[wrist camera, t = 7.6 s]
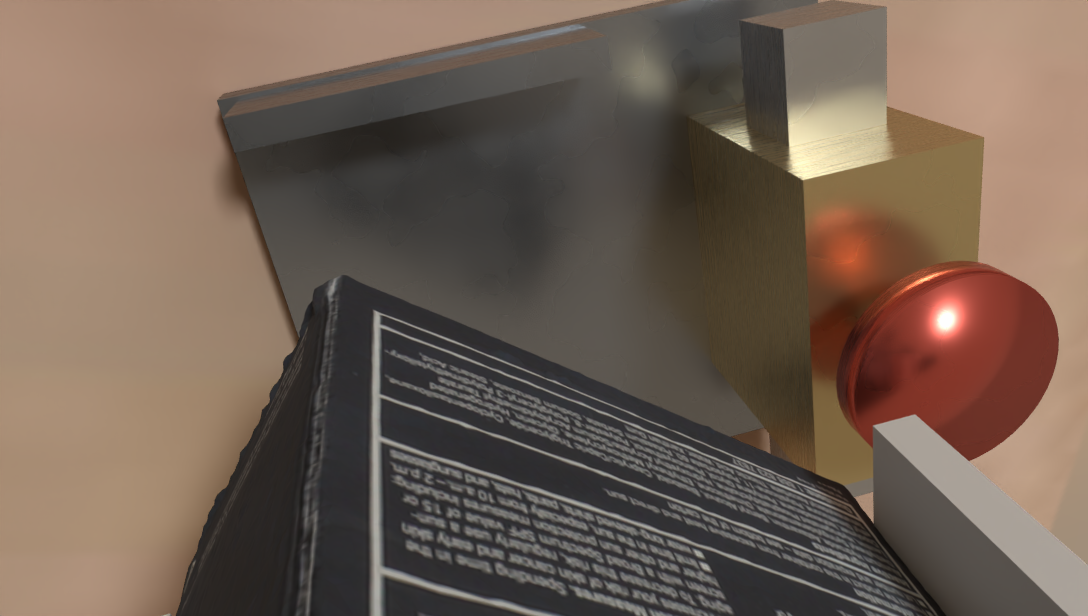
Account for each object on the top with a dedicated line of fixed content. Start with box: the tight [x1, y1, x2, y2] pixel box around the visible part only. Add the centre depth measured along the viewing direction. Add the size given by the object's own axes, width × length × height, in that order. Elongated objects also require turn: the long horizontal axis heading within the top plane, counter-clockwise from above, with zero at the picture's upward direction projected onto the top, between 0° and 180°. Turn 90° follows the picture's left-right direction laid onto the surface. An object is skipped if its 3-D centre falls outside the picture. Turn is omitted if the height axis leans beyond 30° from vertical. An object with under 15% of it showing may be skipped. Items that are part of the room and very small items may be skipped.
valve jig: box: [217, 0, 1059, 497], centre depth 21 cm, size 16×14×10 cm
